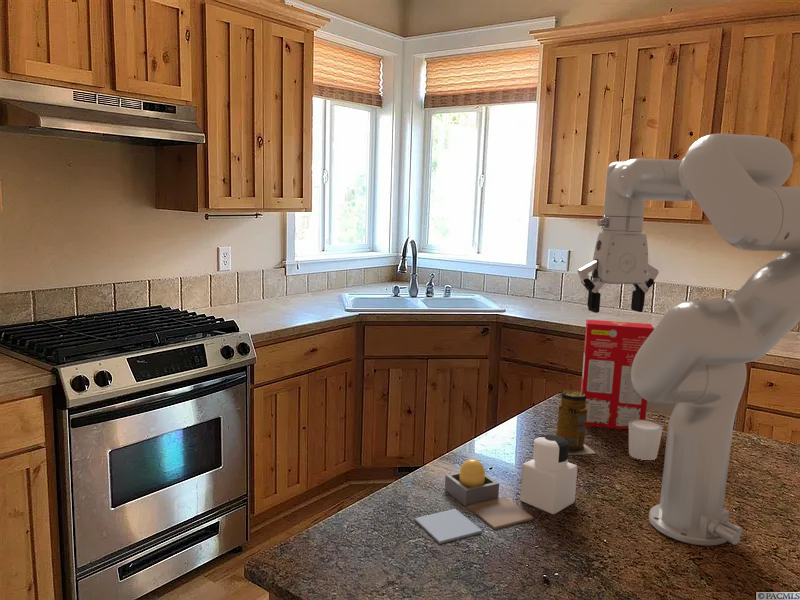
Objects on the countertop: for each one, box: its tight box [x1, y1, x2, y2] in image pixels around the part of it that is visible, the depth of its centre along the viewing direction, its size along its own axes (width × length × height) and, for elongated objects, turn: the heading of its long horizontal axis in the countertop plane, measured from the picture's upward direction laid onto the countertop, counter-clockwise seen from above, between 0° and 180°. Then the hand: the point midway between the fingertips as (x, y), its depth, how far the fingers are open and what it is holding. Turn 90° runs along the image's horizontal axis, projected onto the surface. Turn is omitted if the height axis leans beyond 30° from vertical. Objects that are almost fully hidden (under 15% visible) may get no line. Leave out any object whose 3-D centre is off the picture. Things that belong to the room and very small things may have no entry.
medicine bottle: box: [519, 434, 578, 515], centre depth 114 cm, size 7×7×12 cm
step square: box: [466, 496, 534, 530], centre depth 110 cm, size 8×8×1 cm
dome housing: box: [444, 471, 500, 507], centre depth 117 cm, size 7×7×3 cm
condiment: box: [556, 390, 596, 456], centre depth 140 cm, size 7×8×12 cm
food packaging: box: [580, 319, 655, 430], centre depth 154 cm, size 15×5×25 cm, turn 77°
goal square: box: [414, 508, 483, 545], centre depth 106 cm, size 8×8×1 cm
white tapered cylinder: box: [628, 419, 664, 461], centre depth 137 cm, size 7×7×7 cm
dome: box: [459, 458, 486, 488], centre depth 116 cm, size 5×5×5 cm
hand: (615, 311), depth 129 cm, fingers open, 9 cm apart
